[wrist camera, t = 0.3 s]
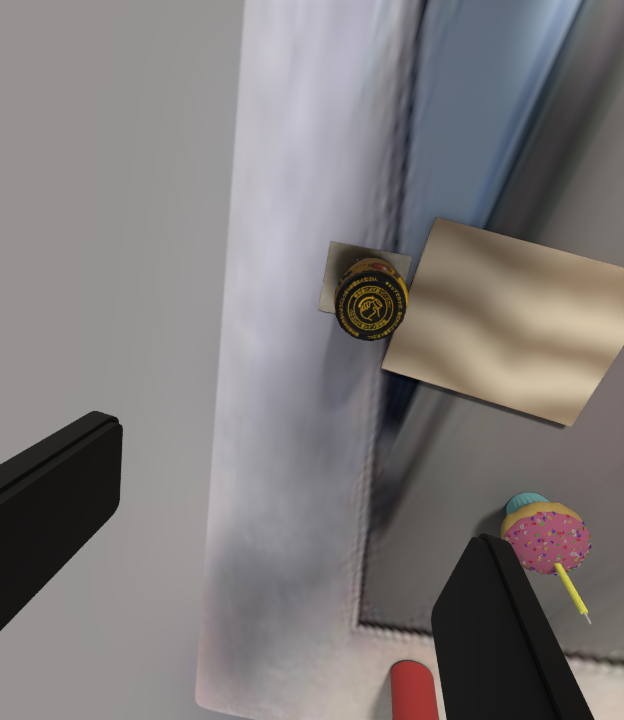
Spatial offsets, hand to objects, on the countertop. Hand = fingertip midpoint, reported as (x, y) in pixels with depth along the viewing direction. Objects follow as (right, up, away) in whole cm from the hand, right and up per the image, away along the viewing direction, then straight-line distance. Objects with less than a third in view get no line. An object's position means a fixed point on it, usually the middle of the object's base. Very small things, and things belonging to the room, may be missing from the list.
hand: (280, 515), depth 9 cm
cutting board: (+21, +7, +26) cm, 34 cm away
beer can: (+17, -46, +45) cm, 67 cm away
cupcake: (+27, -14, +32) cm, 44 cm away
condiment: (+6, +12, +27) cm, 30 cm away
